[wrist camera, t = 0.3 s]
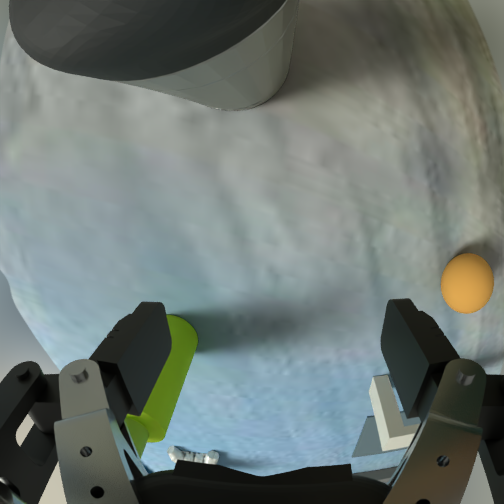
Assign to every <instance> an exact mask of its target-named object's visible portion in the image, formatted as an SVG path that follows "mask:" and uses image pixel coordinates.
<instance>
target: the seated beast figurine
mask: <svg viewBox="0 0 504 504" xmlns="http://www.w3.org/2000/svg"><path fill="white" fill-rule="evenodd" d="M167 453H168V454H169V456H170V458H171V460H172V461H174V462H175V463H176V462H177V459H179V460H185V461H192V462H199V463H207V464H217V462H218V459H219V454H218V453H217V452H214V451H209V452H208V453H200V454H198V453H196V454H194V453H193V452H191V453H189V451H188V452H186V451H180V450H179V449H177V448H176V447H175V446H170V447H169V448H168V450H167ZM184 453H186V454H184ZM194 455H196V456H195V458H194ZM204 456H206V457H205V458H204Z"/></svg>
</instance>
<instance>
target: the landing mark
mask: <svg viewBox="0 0 504 504" xmlns="http://www.w3.org/2000/svg"><path fill="white" fill-rule="evenodd" d="M400 415H401V418H402V421H403V425H404V427H405V426H410V425H415V424H420V422H421V421H420V418H419V417H415V418H410V419H407V418H406V415H405V412H404V411H403V412H400ZM408 447H409V446H408ZM408 447H404V448H399V449H393V450H388V451H382V447H381V442H380V437H379V433H378V428H377V424H376V419H375V416H369V417H367V419H366V421H365V424H364V427H363V430H362V432H361V435H360V437H359V440H358V443H357V445H356V448H355V450H354V452H353V455H352V457H360V456H367V455H374V454H381V453H387V452H392V451H398V450H403V449H408Z"/></svg>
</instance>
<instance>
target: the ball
mask: <svg viewBox="0 0 504 504" xmlns="http://www.w3.org/2000/svg"><path fill="white" fill-rule="evenodd" d="M493 287H494V277H493V273H492V270H491V268H490V266H489V264H488V263H487V262H486V261H485V260H484V259H483V258H482V257H480V256H478V255H476V254H472V253H465V254H461V255H458V256H456V257H455V258H453V259H452V260H451V261H450V262H449V263H448V264H447V266H446V267H445V269H444V271H443V274H442V278H441V291H442V295H443V297H444V300H445V301H446V303H447V304H448V305H449V306H450V307H451V308H452V309H453V310H455V311H457V312H459V313H464V314H468V313H473V312H476V311H478V310H480V309H481V308H482V307H484V306H485V305H486V303H487V302H488V301H489V299H490V297H491V295H492V292H493Z"/></svg>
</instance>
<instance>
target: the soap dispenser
mask: <svg viewBox="0 0 504 504" xmlns="http://www.w3.org/2000/svg"><path fill="white" fill-rule="evenodd" d="M166 316H167V321H168V325H169V329H170V334H171V338H172V348H171V352H170V355H169V357H168V359H167V361H166V363H165V365H164V367H163V369H162V371H161V373H160V375H159V377H158V380H157V382H156V384H155V386H154V388H153V390H152V392H151V394H150V396H149V398H148V401H147V403H146V405H145V407H144V409H143V411H142V413H141V416H135V415H130V414H127V416H126V418H125V422H126V424H127V427H128V429H129V432H130V435H131V437H132V440H133V442H134V445H135V447H136V450H137V452H138V455H139V457H140V459H141V456H142V454H143V451H144V448H145V446H146V443H147V442H159V441H161V440H163V439H164V437H165V435H166V432H167V429H168V426H169V423H170V420H171V417H172V414H173V412H174V409H175V406H176V403H177V400H178V398H179V395H180V392H181V389H182V386H183V384H184V381H185V378H186V375H187V372H188V370H189V367H190V364H191V361H192V359H193V356H194V353H195V350H196V348H197V345H198V336H197V333H196V331H195V329H194V328H193V327H192V326H191V325H190V324H189V323H188V322H187V321H185V320H184V319H182V318H180V317H177V316H174V315H166Z"/></svg>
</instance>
